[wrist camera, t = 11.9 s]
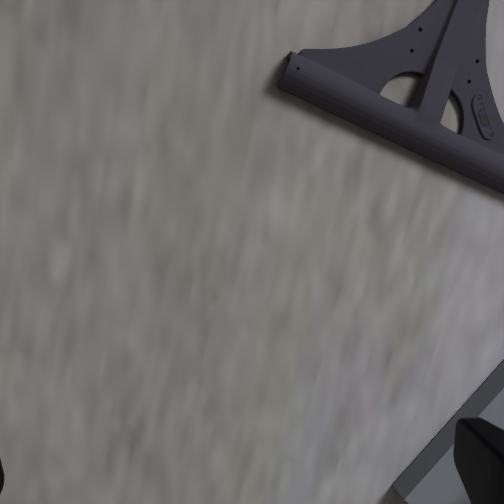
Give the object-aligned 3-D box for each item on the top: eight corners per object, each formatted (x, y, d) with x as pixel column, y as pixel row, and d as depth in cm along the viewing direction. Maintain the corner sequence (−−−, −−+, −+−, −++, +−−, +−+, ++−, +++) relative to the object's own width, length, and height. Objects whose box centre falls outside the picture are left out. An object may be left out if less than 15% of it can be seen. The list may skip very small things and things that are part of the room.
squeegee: (611, -59, 23) (670, -94, 21) (508, 201, 24) (553, 200, 21) (384, -213, 20) (419, -278, 17) (271, 91, 21) (288, 74, 18)
